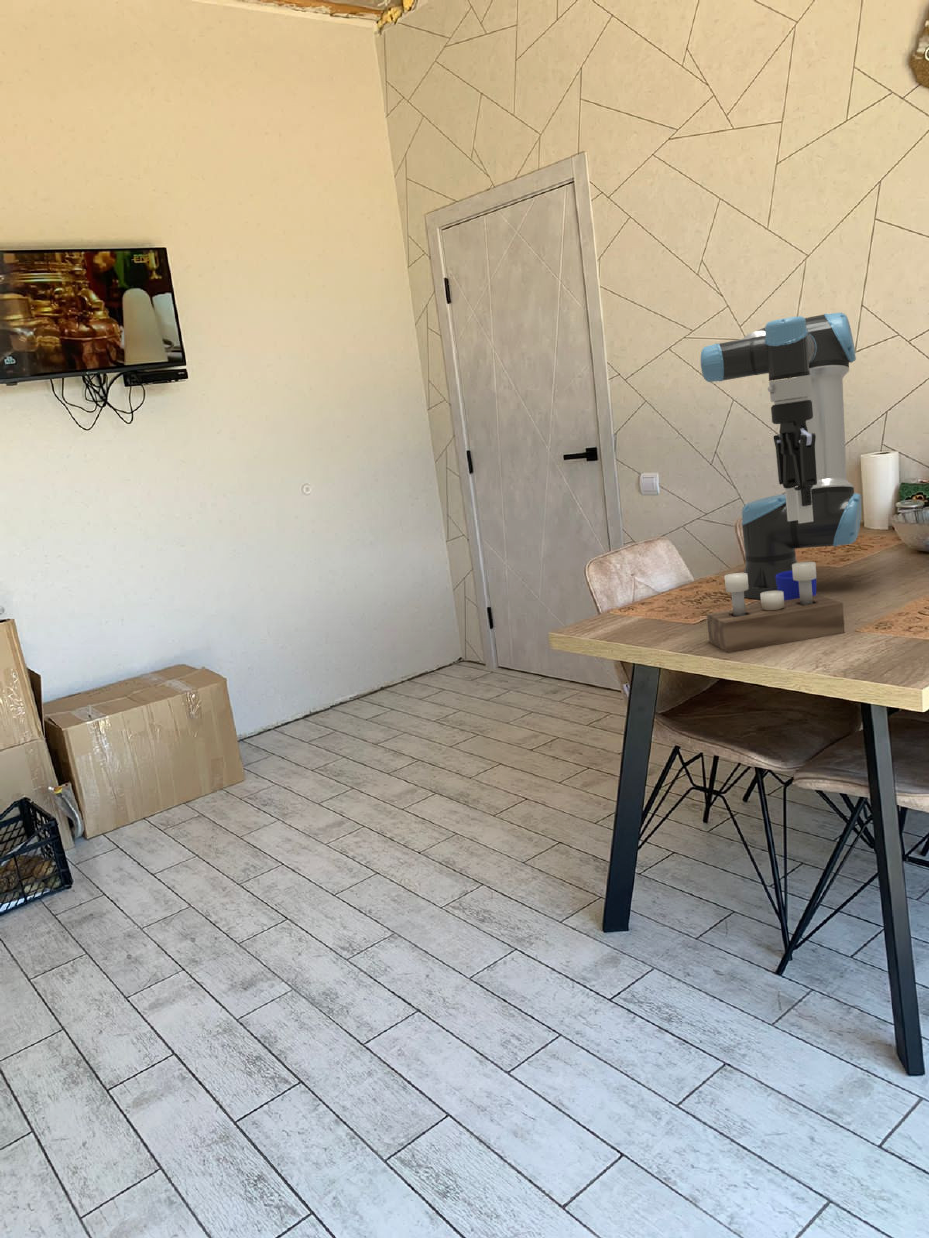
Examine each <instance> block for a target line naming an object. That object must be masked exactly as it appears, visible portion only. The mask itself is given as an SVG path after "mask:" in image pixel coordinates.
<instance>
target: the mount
mask: <svg viewBox="0 0 929 1238" xmlns="http://www.w3.org/2000/svg"><path fill="white" fill-rule="evenodd" d="M843 604H844V603H843V602H841V601H838V600H836V599H832V598H829V597H826V596H824V595H820V594H816V595H815V596H813V604H809V605H803V606H802V605H800V598H797V599H791V600H785V601H784V605H785V607H784V608H782V609H780V610H774V611H767V610H763V609H762V607H761V604H757V605H751V606H745V611H746V615H744V616H739V617H733V608H732V609H727V610H722V611H721V610H720V611H715V612H710V613H706V620H707V622H706V624H707V629H708V630H707V631H708V641H709V643H710V644H712V645H713V646H716V647H717V648H719V649H720V650H721V651H724V652H725V653H735V652H738V651H739V652H740V651H745V650H746V651H747V650H750V649H756V648H758V649H759V648H761V647H762V648H763V647H768V646H774V645H780V644H781V645H782V644H786V643H791V642H792V643H793V642H798V641H803V640H804V641H805V640H808V639H814V638H815V639H816V638H821V637H826V636H834V635H838V634H844V633H845V619H844V616H845V615H844V605H843Z"/></svg>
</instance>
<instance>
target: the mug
mask: <svg viewBox="0 0 929 1238" xmlns="http://www.w3.org/2000/svg"><path fill="white" fill-rule="evenodd" d="M775 577H776V583H777V589H778V591H783V593H784V601H785V600H791V599H797V598H800V593H799V581H795V580H793V572H792V571H786V572H781V573H778V574H777V575H776V576H775ZM811 583H812V596H815V595H817V578H816V579H813V580H811Z"/></svg>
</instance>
